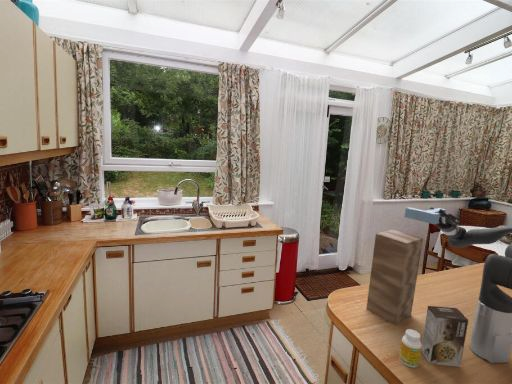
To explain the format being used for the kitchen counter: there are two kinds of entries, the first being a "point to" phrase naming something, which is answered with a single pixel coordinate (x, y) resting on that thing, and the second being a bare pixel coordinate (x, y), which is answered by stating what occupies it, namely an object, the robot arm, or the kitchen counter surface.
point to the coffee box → (444, 336)
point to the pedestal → (394, 275)
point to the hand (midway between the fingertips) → (435, 210)
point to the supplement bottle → (410, 348)
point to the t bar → (424, 215)
